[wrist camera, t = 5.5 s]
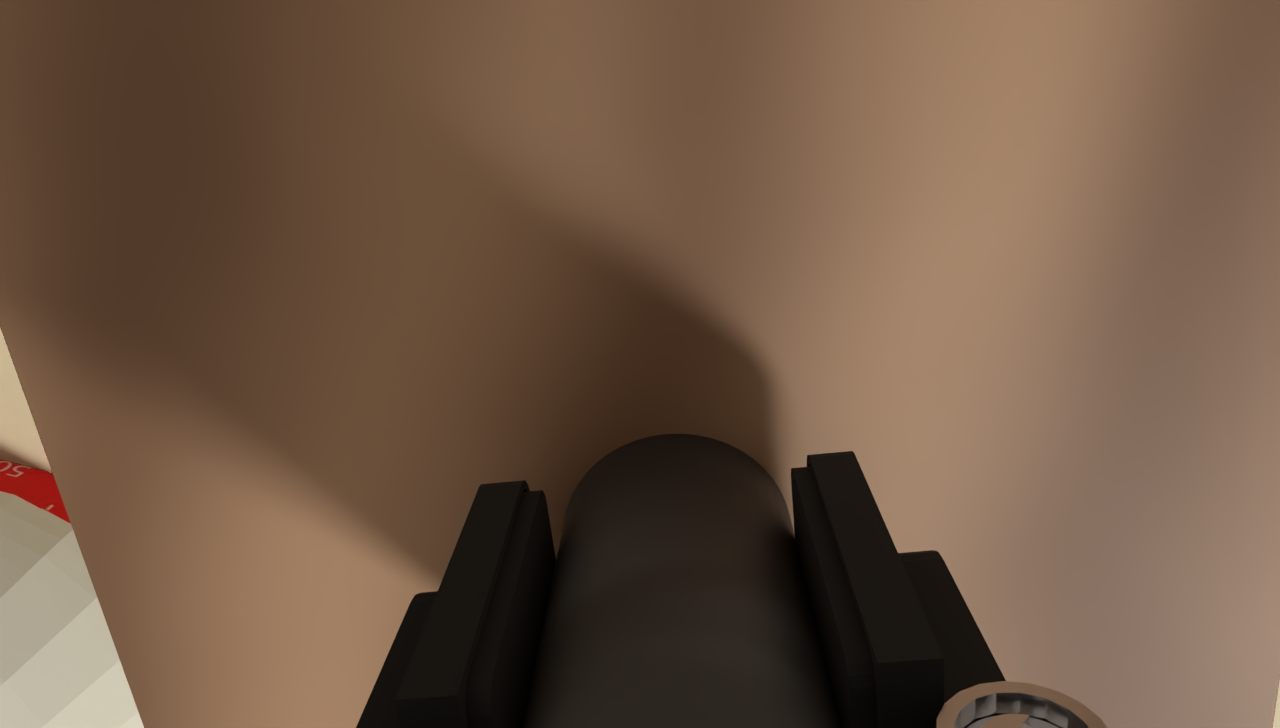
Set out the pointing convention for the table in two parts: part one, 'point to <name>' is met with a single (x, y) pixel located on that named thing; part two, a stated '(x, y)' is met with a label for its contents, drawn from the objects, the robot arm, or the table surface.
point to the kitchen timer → (52, 618)
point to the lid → (654, 334)
